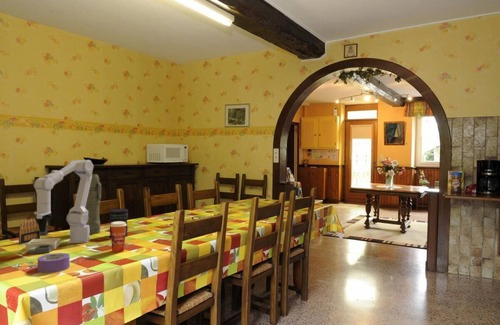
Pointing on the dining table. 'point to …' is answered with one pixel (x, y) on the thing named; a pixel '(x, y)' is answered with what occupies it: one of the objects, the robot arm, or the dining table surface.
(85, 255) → the dining table surface
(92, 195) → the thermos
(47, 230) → the battery cell
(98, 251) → the dining table surface
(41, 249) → the checker cradle
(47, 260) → the tape roll
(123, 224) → the paper cup
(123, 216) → the storage jar
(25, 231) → the ammunition clip
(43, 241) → the trough tray
